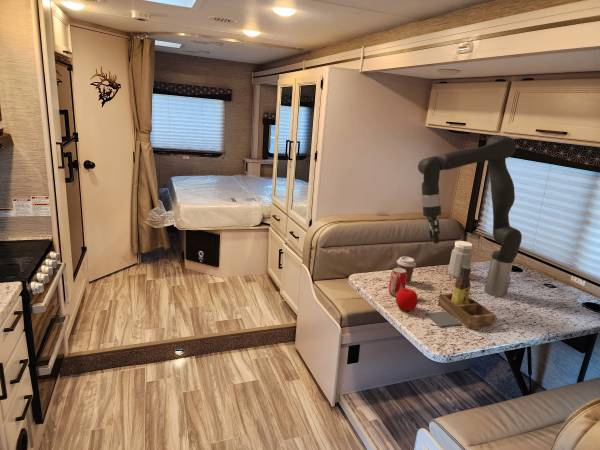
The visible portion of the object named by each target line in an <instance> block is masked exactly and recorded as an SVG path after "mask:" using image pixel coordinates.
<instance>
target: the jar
mask: <svg viewBox="0 0 600 450" xmlns="http://www.w3.org/2000/svg"><path fill="white" fill-rule="evenodd" d="M472 249H473V244H472V243H471V242H469V241H465V240H456V241H455V242H454V247H453V249H452V251H451V254H450V261H449V265H448V269H447V272H448V274H449V276H450V277H452V278H455V279H457V278H458V277H459V276H460V272H461V266H462V265H466V266H469V267H471V262H472V258H473V253H472Z"/></svg>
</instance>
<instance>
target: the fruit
mask: <svg viewBox="0 0 600 450" xmlns="http://www.w3.org/2000/svg"><path fill="white" fill-rule="evenodd" d="M418 300H419V297H418V295H417V292H415V290H413V289H410V288H408V287H407V286H405V289H401V290H400V291H399V292H398V293H397V295H396V296H395V303H396V306H397V307H398V309H400V310H402V311H404V312H405V311H406V312H410V311H413V310H414V309H415V308H416V307H417V306H418V303H419V301H418Z"/></svg>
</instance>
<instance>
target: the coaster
mask: <svg viewBox="0 0 600 450" xmlns="http://www.w3.org/2000/svg"><path fill="white" fill-rule="evenodd" d="M424 315H425V316H426V317H428V319H430V320H431V321H432V322H433V323H434V324H436V326H437V327H439V328H446V327H447V328H448V327H456V326H461V325H462V323H460V322H459V321H458V320H457V319H455V318H454V317H453V316H452V315H450V314H449V313H448V312H447V311H445V310H443V311H436V312H425V314H424Z"/></svg>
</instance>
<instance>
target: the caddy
mask: <svg viewBox="0 0 600 450" xmlns="http://www.w3.org/2000/svg"><path fill="white" fill-rule="evenodd" d="M452 294H453V292H450V293H440V294H439V297H438V302H437V305H438V306H439V307H440V308H441V309H443V311H446V312H448V313H449V314H450V315H451V316H453V317H454V318H455V319H456V320H458V321H459V322H460V323H461V325H463V326H464V327H465V328H466V329H480V328H488V327H494V325H495V320H496V316H497V315H496V314H495V313H494V312H492V311H491V310H489V309H487V308H486V307H485V306H483V305H482V304H481V303H479V302H477V300H475V299H473V298H472V297H470V296H468V300H467V304H463V305H456V304H454V303H453V302H452V301H451V299H452Z"/></svg>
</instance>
